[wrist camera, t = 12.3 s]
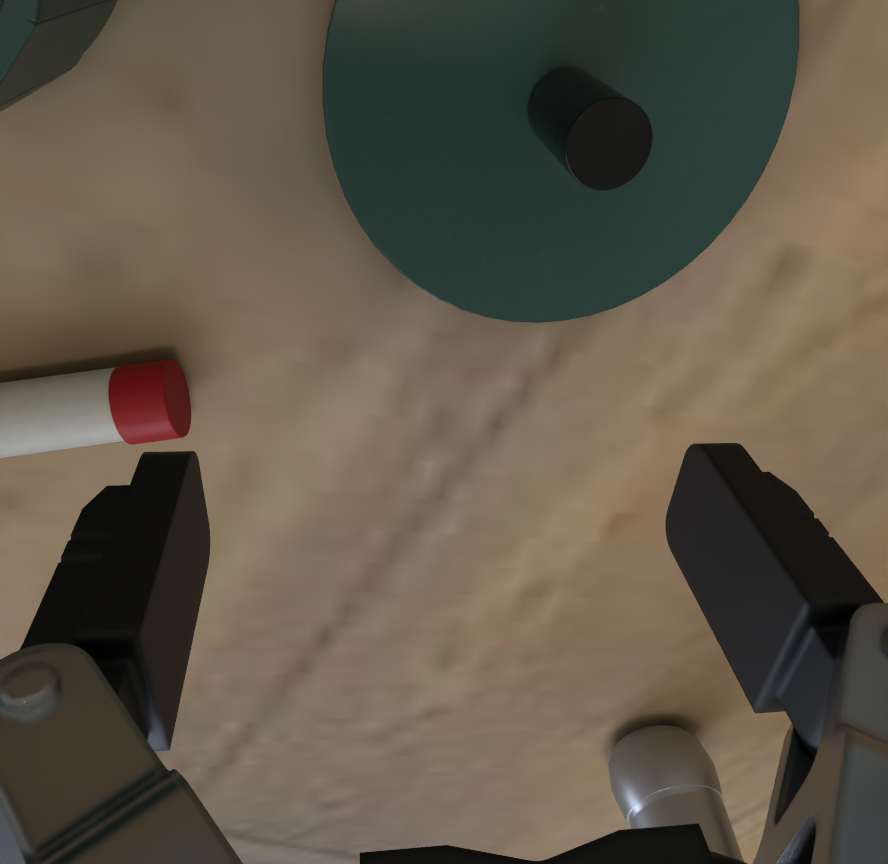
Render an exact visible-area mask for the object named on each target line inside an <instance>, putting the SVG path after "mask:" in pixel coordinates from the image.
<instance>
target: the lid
mask: <svg viewBox="0 0 888 864" xmlns="http://www.w3.org/2000/svg"><path fill="white" fill-rule="evenodd" d="M798 49H799V5H798V0H335V3H334V7H333V11H332V15H331V19H330V23H329V27H328V32H327V40H326V48H325V56H324V63H323V109H324V118H325V127H326V135H327V140H328V144H329V148H330V152H331V157H332V161H333V165H334V169H335V171H336V174H337V177H338V179H339V182H340V185H341V187H342V190H343V192H344V195H345V198H346V200H347V201H348V203H349V205H350V207H351V209H352V211H353V213H354V214H355V216H356V218H357V220H358V222H359V224H360V225H361V227H362V228H363V229H364V231H365V232H366V234H367V235H368V236H369V238H370V239H371V241H372V242H373V243H374V245H375V246H376V248H377V249H378V250H379V251H380V252H381V253H382V254H383V255H384V256H385V257H386V258H387V259H388V261H389V262H390V263H391V264H392V265H393V266H394V267H395V268H396V269H397V270H399V271H400V272H401V273H402V274H403V275H405V276H406V277H407V278H408V279H409V280H411V281H412V282H413V283H414V284H416V285H417V286H419V287H420V288H422V289H423V290H425V291H427V292H428V293H430V294H431V295H433V296H435V297H436V298H438V299H440V300H442V301H444V302H446V303H449V304H451V305H453V306H455V307H457V308H460V309H462V310H465V311H468V312H471V313H475V314H478V315H481V316H485V317H489V318H494V319H500V320H506V321H512V322H534V323H540V322H553V321H564V320H570V319H575V318H580V317H585V316H590V315H593V314H596V313H599V312H602V311H605V310H609V309H612V308H615V307H617V306H619V305H622V304H624V303H626V302H628V301H631V300H633V299H635V298H637V297H640V296H641V295H643V294H645V293H646V292H648V291H650V290H652V289H653V288H655V287H657V286H659V285H660V284H662V283H664V282H665V281H666V280H668V279H669V278H671V277H672V276H673V275H675V274H676V273H677V272H679V271H680V270H682V269H683V268H684V267H686V266H687V265H688V264H689V263H690V262H691V261H693V260H694V259H695V258H696V257H697V256H698V255H699V254H700V253H701V252H703V251H704V250H705V249H706V248H707V247H708V246H709V245H710V244H711V243H712V242H713V241H714V240H715V238H716V237H717V236H718V235H719V234H720V233H721V232H722V231H723V230H724V229H725V227H726V226H727V225H728V224H729V223H730V222H731V220H732V219H733V218H734V216H735V215H736V213H737V212H738V211H739V209H740V208H741V207H742V205H743V204H744V203H745V201H746V200H747V198H748V197H749V195H750V193H751V192H752V190H753V188H754V187H755V185H756V183H757V182H758V180H759V178H760V177H761V175H762V173H763V172H764V169H765V167H766V165H767V163H768V161H769V159H770V156H771V154H772V152H773V150H774V148H775V146H776V143H777V141H778V138H779V135H780V132H781V129H782V126H783V123H784V121H785V118H786V115H787V112H788V108H789V103H790V99H791V95H792V90H793V86H794V81H795V76H796V67H797V58H798Z"/></svg>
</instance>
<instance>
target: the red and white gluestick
mask: <svg viewBox="0 0 888 864" xmlns="http://www.w3.org/2000/svg"><path fill="white" fill-rule="evenodd" d="M190 424H191V404H190V396H189V391H188V387H187V384H186V380H185V378H184V375H183V373H182V371H181V369H180V367H179V366H178V364H177V363H176V362H175V361H173V360H170V359H168V360H161V361H154V362H146V363H139V364H132V365H124V366H118V367H114V368H106V369H99V370H92V371H84V372H77V373H70V374H62V375H55V376H47V377H40V378H33V379H25V380H18V381H11V382H3V383H0V458H4V457H11V456H18V455H25V454H32V453H40V452H47V451H54V450H61V449H68V448H76V447H83V446H90V445H97V444H104V443H112V442H119V441H125V442H127V443H129V444H140V443H147V442H154V441H161V440H168V439H176V438H182V437H185V436H186V435H187V434H188V432H189V429H190Z"/></svg>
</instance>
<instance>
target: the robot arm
mask: <svg viewBox="0 0 888 864" xmlns="http://www.w3.org/2000/svg"><path fill="white" fill-rule="evenodd" d="M666 536H667V541H668V544H669V547H670V550H671V552H672V554H673V556H674V558H675V559H676V561H677V563H678V565H679V567H680V569H681V571H682V573H683V575H684V577H685V579H686V581H687V583H688V585H689V587H690V588H691V590H692V592H693V594H694V596H695V598H696V600H697V602H698V604H699V606H700V608H701V610H702V612H703V614H704V616H705V617H706V619H707V621H708V623H709V625H710V627H711V629H712V631H713V633H714V635H715V637H716V639H717V641H718V643H719V645H720V646H721V648H722V650H723V652H724V654H725V656H726V658H727V660H728V662H729V664H730V666H731V668H732V670H733V672H734V674H735V675H736V677H737V679H738V681H739V683H740V685H741V687H742V689H743V691H744V693H745V695H746V697H747V699H748V701H749V703H750V704H751V706H752V708H753V710H754V712H755V713H765V712H780V711H786V713H787V715H788V717H789V718H790V720H791V722H792V724H791V726H790V728H789V730H788V731H787V733H786V736H785V739H784V744H783V748H782V753H781V757H780V762H779V766H778V771H777V775H776V779H775V784H774V788H773V793H772V797H771V802H770V806H769V810H768V815H767V819H766V824H765V828H764V833H763V836H762V840H761V843H760V846H759V849H758V852H757V855H756V857H755V859H754V862H753V864H888V604H887V603H884V602H883V600H882V599H881V598H880V597H879V595H878V594H877V593H876V592H875V590H874V589H873V588H872V586H871V585H870V584H869V583H868V581H867V580H866V579H865V578H864V576H863V575H862V574H861V573H860V571H859V570H858V569H857V567H856V566H855V565H854V564H853V562H852V561H851V560H850V559H849V557H848V556H847V555H846V554H845V552H844V551H843V550H842V548H841V547H840V546H839V545H838V543H837V542H836V541H835V540H834V538H833V537H829V532H828V531H827V529H826V528H825V527H824V526H823V524H822V523H821V522H820V521H819V519H818V518H817V519H815V518H814V513H813V512H812V510H811V509H810V508H809V507H808V505H807V504H806V503H805V502H804V500H803V499H802V498H801V497H800V495H799V494H798V493H797V491H795V490H794V489H792V488H791V487H790V486H788V485H787V484H785V483H784V482H783V481H781V480H780V479H778V478H777V477H776V476H774V475H773V474H771V473H770V472H762V471H761V470H760V468H759V467H758V466H757V464H756V463H755V462H754V460H753V459H752V458H751V456H750V455H749V454H748V452H747V451H746V450H745V449H744V447H743V446H741V445H740V444H738V443H710V444H692V445H691V446H690V447H689V448H688V449H687V451H686V453H685V456H684V459H683V462H682V465H681V469H680V472H679V475H678V478H677V482H676V485H675V488H674V491H673V494H672V498H671V501H670V504H669V507H668V511H667V515H666ZM209 556H210V528H209V521H208V515H207V509H206V503H205V497H204V491H203V485H202V479H201V472H200V466H199V461H198V457H197V454H196V453H195V452H194V451H178V452H144V453H143V454H142V455H141V458H140V460H139V463H138V465H137V468H136V471H135V473H134V476H133V478H132V481H131V484H130V485H120V486H106V487H105V488H104V489H103V490H102V491H101V492H100V493H99V494H98V495H97V496H96V497H95V498H94V499H92V500H91V501H90V502H89V503H88V504H87V505H86V506H85V507H84V508H83V509H82V511H81V513H80V516H79V518H78V520H77V522H76V525H75V527H74V529H73V531H72V534H71V541H68V543H67V545H66V547H65V550H64V552H63V554H62V556H61V563H58V565H57V568H56V570H55V572H54V574H53V577H52V579H51V581H50V583H49V586H48V588H47V590H46V593H45V595H44V597H43V599H42V602H41V604H40V606H39V608H38V611H37V613H36V615H35V617H34V620H33V622H32V624H31V626H30V629H29V631H28V633H27V636H26V638H25V640H24V642H23V645H22V646H21V648H20V650H19V651H17V652H14V653H12V654H10V655H8V656H6V657H5V658H3V659H1V660H0V864H243V863H242V862H241V860H240V859H239V857H238V856H237V854H236V853H235V851H234V850H233V848H232V847H231V845H230V844H229V843H228V841H227V840H226V838H225V837H224V835H223V834H222V832H221V831H220V829H219V828H218V826H217V825H216V823H215V822H214V820H213V819H212V817H211V816H210V815H209V813H208V812H207V810H206V809H205V807H204V806H203V804H202V803H201V801H200V800H199V798H198V797H197V795H196V794H195V792H194V791H193V789H192V788H191V787H190V785H189V784H188V782H187V781H186V780H185V779H184V777H183V776H182V775H181V774H180V773H179V772H178V771H177V770H175V769H173V770H171V771H168V770H167V769H166V767H165V766H164V765H163V764H162V762H161V761H160V759H159V758H158V756H157V755H156V753H155V752H154V751H165V750H170V746H171V741H172V736H173V732H174V727H175V722H176V717H177V712H178V708H179V703H180V698H181V693H182V688H183V684H184V679H185V674H186V669H187V665H188V660H189V655H190V650H191V645H192V641H193V636H194V631H195V626H196V622H197V617H198V612H199V607H200V602H201V598H202V593H203V588H204V583H205V578H206V574H207V569H208V564H209ZM360 864H747V863H745V862H743V861H740V860H738V859H735V858H732V857H729V856H726V855H722V854H719V853H716V852H712V851H710V850H709V848H708V845H707V843H706V840H705V837H704V835H703V832H702V830H701V827H700V825H699V823H696V824H685V825H673V826H662V827H650V828H639V829H628V830H619V831H616V832H614V833H611V834H609V835H606V836H604V837H601V838H599V839H596V840H594V841H592V842H589V843H587V844H584V845H582V846H579V847H577V848H574V849H572V850H569V851H567V852H564V853H562V854H559V855H557V856H554V857H552V858H550V859H547V860H543V861H529V860H524V859H518V858H513V857H507V856H502V855H497V854H491V853H486V852H481V851H475V850H470V849H465V848H459V847H454V846H448V845H444V846H432V847H421V848H409V849H398V850H386V851H375V852H364V853H360Z"/></svg>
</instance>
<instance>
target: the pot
mask: <svg viewBox="0 0 888 864" xmlns="http://www.w3.org/2000/svg"><path fill="white" fill-rule="evenodd" d="M116 2H117V0H0V111H2V110H4V109H6V108H8V107H9V106H11V105H13V104H14V103H16V102H18V101H19V100H21V99H23V98H24V97H26V96H28V95H29V94H31V93H32V92H34V91H36V90H37V89H39V88H41V87H42V86H44V85H46V84H47V83H49V82H51V81H52V80H54V79H56V78H57V77H59V76H61V75H62V74H64V73H66V72H67V71H69V70H70V69H72V68H73V66H75V65H76V64H77V62H78V60H79V59H80V57H81V56H82V54H83V53H84V52H85V51H86V49H87V48H88V47H89V46H90V45H91V44H92V42H93V41H94V40H95V39H96V37H97V36H98V34H99V33H100V31H101V29H102V28H103V26H104V24H105V23H106V21H107V19H108V18H109V16H110V15H111V13H112V11H113V8H114V6H115V3H116Z"/></svg>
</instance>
